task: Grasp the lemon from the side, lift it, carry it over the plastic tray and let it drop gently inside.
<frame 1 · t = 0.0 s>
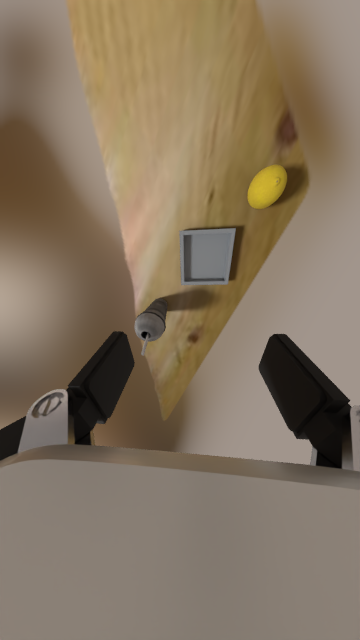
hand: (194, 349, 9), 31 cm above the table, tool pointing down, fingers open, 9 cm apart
beverage cup: (160, 304, 43), on the table
tray: (204, 258, 35), on the table
lemon: (256, 195, 28), on the table
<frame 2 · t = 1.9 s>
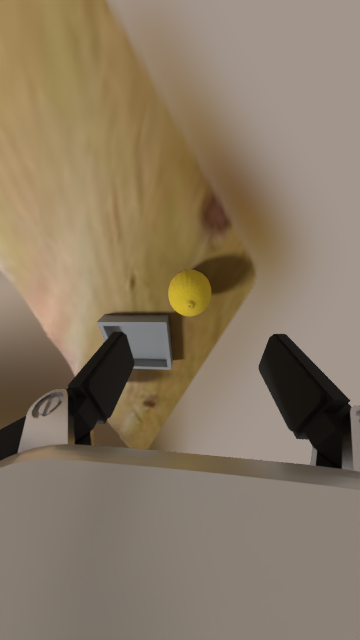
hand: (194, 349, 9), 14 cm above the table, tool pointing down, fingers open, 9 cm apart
tray: (142, 339, 28), on the table
lemon: (189, 282, 21), on the table
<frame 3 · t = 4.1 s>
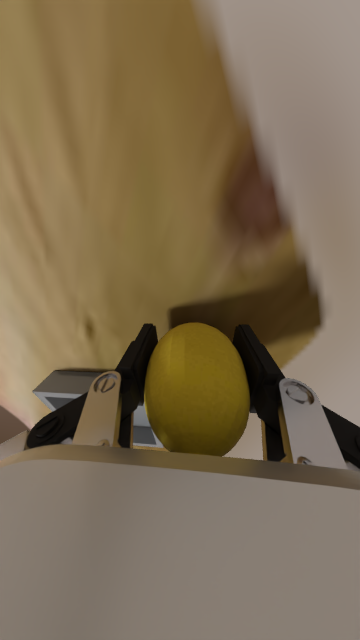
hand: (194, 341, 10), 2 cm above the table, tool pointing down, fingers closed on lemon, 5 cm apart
tray: (117, 402, 18), on the table
lemon: (193, 332, 12), on the table, touching gripper
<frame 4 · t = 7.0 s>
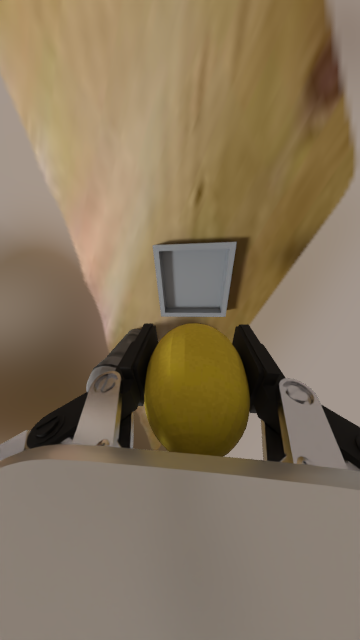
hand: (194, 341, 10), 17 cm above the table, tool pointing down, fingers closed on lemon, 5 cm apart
beverage cup: (137, 336, 33), on the table
tray: (193, 281, 25), on the table
lemon: (193, 332, 12), point 15 cm above the table, touching gripper
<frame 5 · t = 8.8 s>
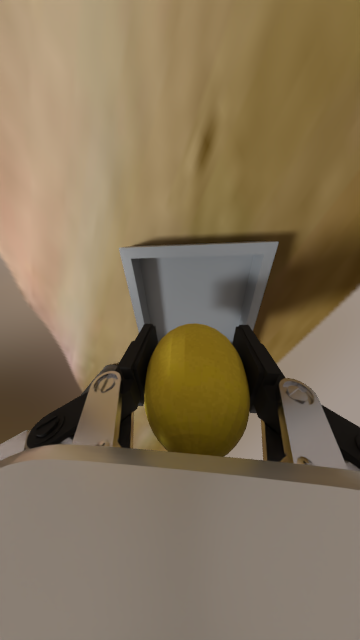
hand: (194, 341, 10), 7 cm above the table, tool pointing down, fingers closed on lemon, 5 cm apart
tray: (193, 304, 16), on the table
lemon: (193, 332, 12), point 5 cm above the table, touching gripper
when the fingers open (4 cm above the table, at t = 10.2 s): lemon drops 2 cm, resting on tray.
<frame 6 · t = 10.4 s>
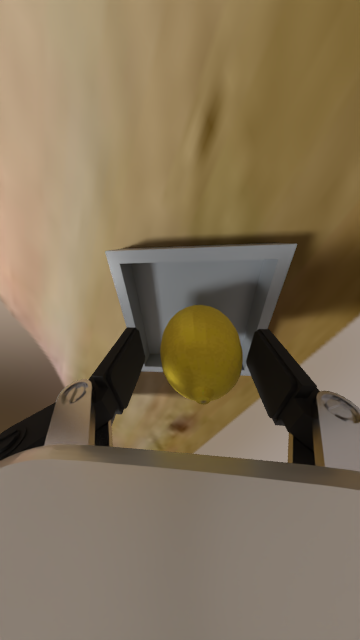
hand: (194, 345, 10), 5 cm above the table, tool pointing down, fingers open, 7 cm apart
tray: (193, 313, 14), on the table
lemon: (197, 317, 14), resting on tray
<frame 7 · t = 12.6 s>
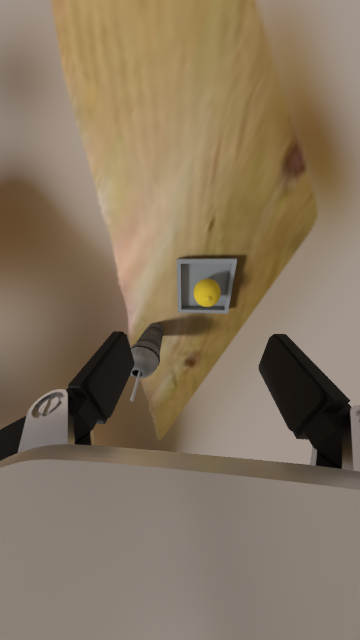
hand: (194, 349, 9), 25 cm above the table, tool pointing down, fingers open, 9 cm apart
beverage cup: (155, 329, 40), on the table
tray: (203, 285, 32), on the table
lemon: (205, 286, 32), resting on tray
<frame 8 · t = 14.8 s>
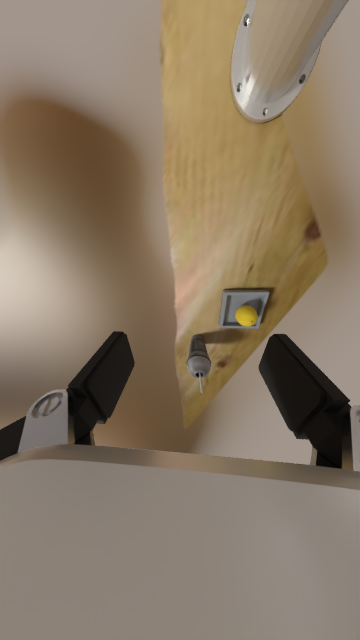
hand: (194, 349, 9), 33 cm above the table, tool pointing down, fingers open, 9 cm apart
beverage cup: (197, 339, 51), on the table
tray: (240, 307, 43), on the table
lemon: (241, 309, 43), resting on tray
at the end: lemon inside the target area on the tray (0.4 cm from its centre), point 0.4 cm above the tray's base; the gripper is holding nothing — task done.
